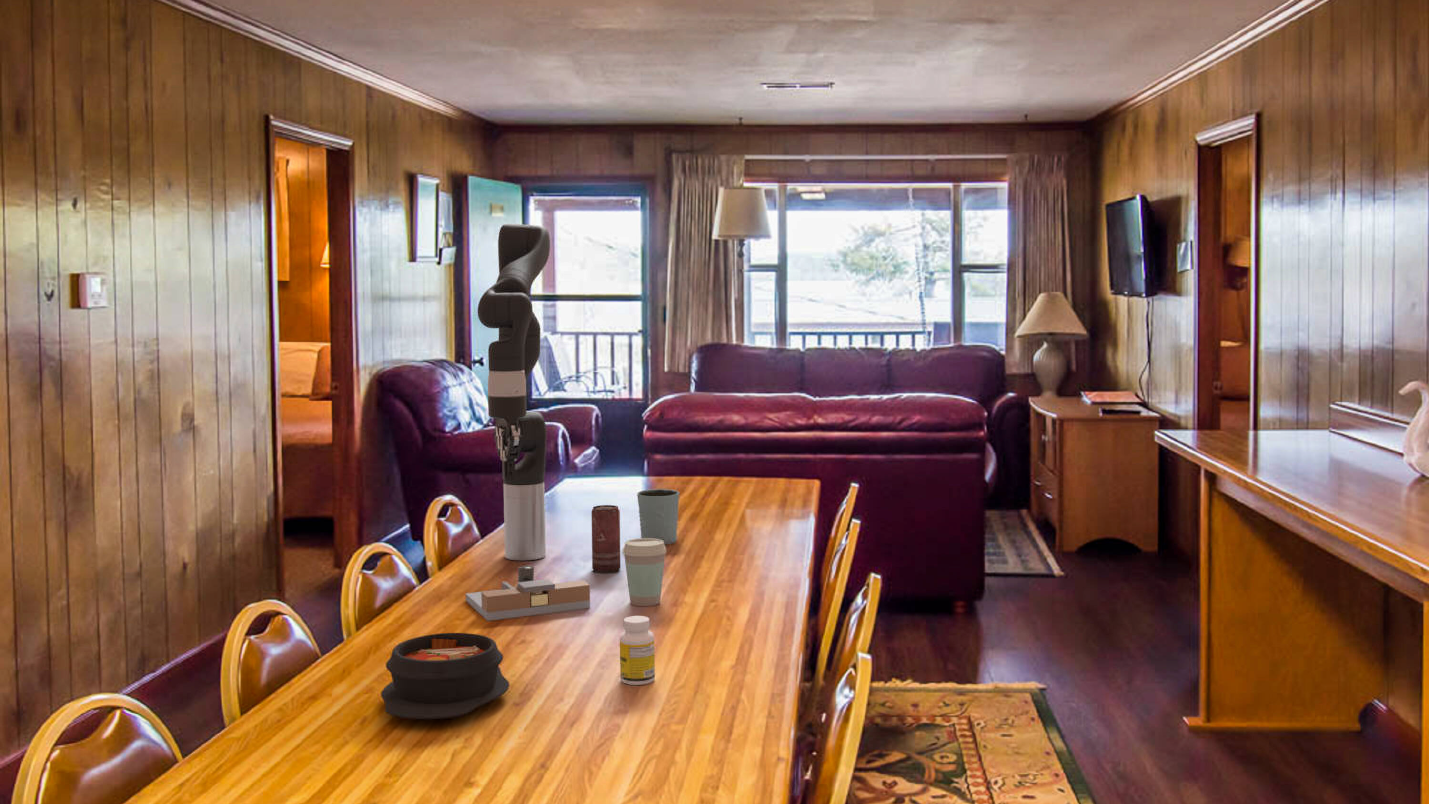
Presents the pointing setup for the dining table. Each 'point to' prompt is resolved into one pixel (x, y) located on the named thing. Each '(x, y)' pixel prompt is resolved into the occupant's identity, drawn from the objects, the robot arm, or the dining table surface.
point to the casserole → (443, 676)
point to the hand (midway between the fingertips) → (508, 479)
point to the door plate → (520, 613)
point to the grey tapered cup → (658, 514)
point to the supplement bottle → (637, 652)
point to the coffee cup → (644, 570)
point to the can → (605, 539)
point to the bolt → (528, 575)
